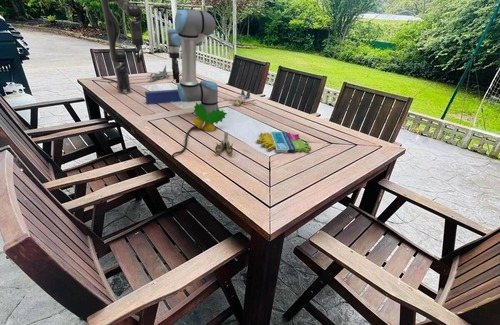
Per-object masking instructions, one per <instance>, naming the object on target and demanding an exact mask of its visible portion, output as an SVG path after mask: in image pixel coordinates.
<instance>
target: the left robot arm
mask: <svg viewBox="0 0 500 325" xmlns="http://www.w3.org/2000/svg"><path fill="white" fill-rule="evenodd" d="M100 3H101V8H102V11H103V18H104V23H105V30H106V34H107V39H108V46H109V56H110V59H111V62H112V63H114V64H119V65H118V66H116V67H115V68H114V70H115V76H116V80H114V79H112V78H108V77H104V76H101V78H102V79H105V80H108V81H112V82H114V83H116V84H117V85H116V87H117V88H118V93H119V94H130V93H132V90H131V83H130V82H131V81H130V76H129V71H128V70H129V69H128V68H129V67H128V60H127V58H128V57H127V53H126V51H125V50H122V49H120V50H119V49H118V50H117V49H116V45H117V42H118V39H119V37H120V34H121V28H120V24H119V20H118V19H117V17H116V16H115V15H114V13H113V12H112V10H111V8H110V6H109V3H116V4H117V6H118V8H119V9H121V10H122V11H123V12H124V13H125V15H126V16H127V17H130V18H134V20H131V21H130V22H129V27H130V37H131V44H132V45H133V46H135V47H133V48H134V55H135V58H136V63H138V64H141V61H143V46H144V37H143V32H142V31H143V30H142V18H143V9H142V8H141V6H139V5H134V4H132V3H131V2H130V1H129V0H100Z"/></svg>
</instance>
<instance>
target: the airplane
mask: <svg viewBox="0 0 500 325" xmlns="http://www.w3.org/2000/svg"><path fill="white" fill-rule="evenodd" d="M146 74H149V77H151V78H149V79H148V83H152V82H154V81H157V80H162V79H165V78H170V77H171V76H172V77H173V74H172V72H168V71H167V65H165V66H164V68H163V70H162V71H161V70H159V71H158V73H157V72H156V73H155V72H146Z"/></svg>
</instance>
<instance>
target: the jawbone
mask: <svg viewBox="0 0 500 325" xmlns="http://www.w3.org/2000/svg"><path fill="white" fill-rule="evenodd" d="M223 135H224V136H223V140H222V139H221V142H220V144H218V142H215V144H216V146H215V148H214V149H215V152H214V154H215V155H217V156H218V155H220V153H221V152H223V151H224V150H226V152H227V153H228V155H229V156H233V155H234V154H233V153H234V148H233V144H234V143H230V140H228V139H229V138H228V137H229V136H228V135H229V133H228V131H226V132H224V134H223Z"/></svg>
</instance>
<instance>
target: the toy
mask: <svg viewBox="0 0 500 325" xmlns="http://www.w3.org/2000/svg"><path fill="white" fill-rule="evenodd" d="M240 92H241V93H240V95H238V96H237V97H235V99H233V98H230V99H228V98H227V97H226V96H225V97H224V98H223V101H224V102H233V103H232V104H233V105H235V106H242V103H243V104H247V105H252V106H255V105H256V104H257V103H256V102H254V101H253V100H252V101H251V102H250V101H248V100H246V99H248V98H250V97H251V90H250V89H249V90H248V91H247V92H246V93H245V91H244V89H242V90H241V91H240Z"/></svg>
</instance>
